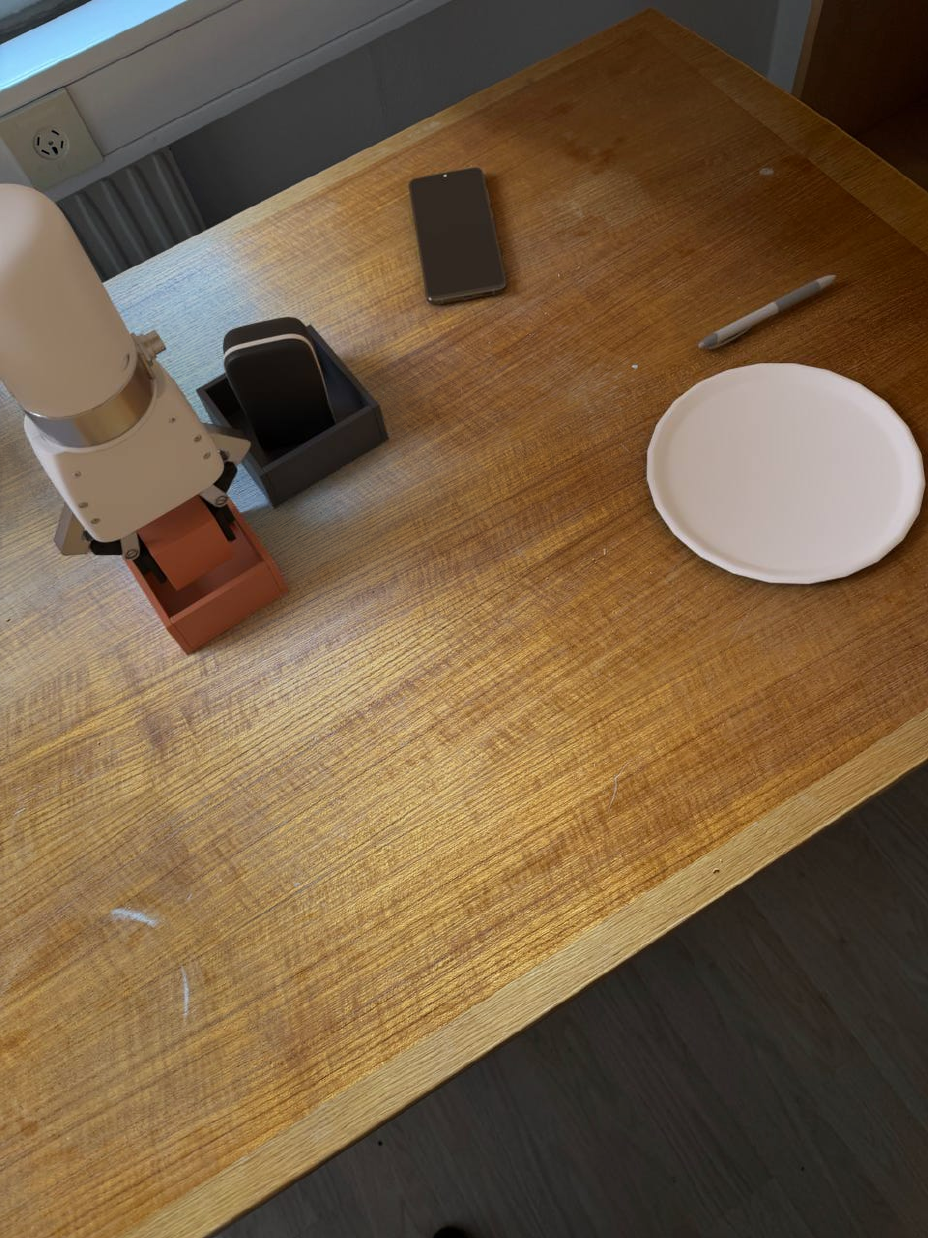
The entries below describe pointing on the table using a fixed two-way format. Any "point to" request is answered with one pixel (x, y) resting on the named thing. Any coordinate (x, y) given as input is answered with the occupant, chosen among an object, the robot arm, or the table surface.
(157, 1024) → the table surface
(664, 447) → the plate
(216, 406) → the dark bin
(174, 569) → the clay block
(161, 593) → the clay bin
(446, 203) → the smartphone
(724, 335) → the pen
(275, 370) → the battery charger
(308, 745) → the table surface
